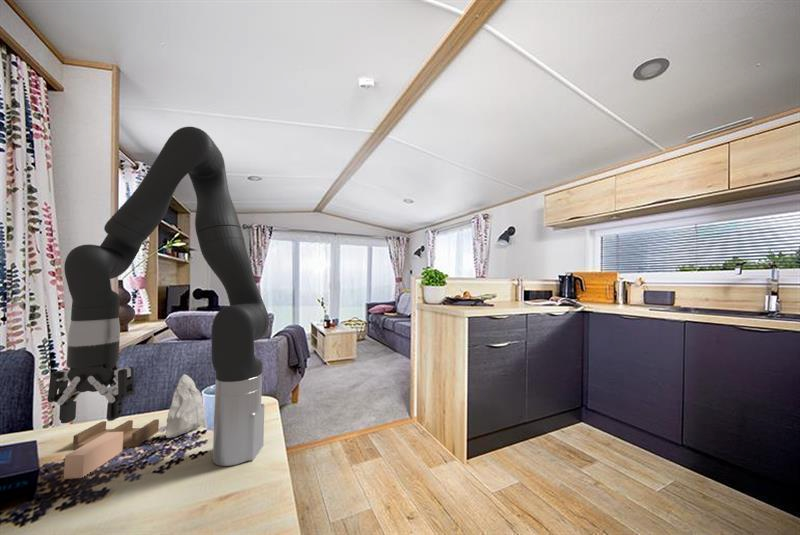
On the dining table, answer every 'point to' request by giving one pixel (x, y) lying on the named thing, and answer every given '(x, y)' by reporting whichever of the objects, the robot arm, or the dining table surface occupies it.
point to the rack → (130, 435)
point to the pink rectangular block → (93, 455)
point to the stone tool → (185, 408)
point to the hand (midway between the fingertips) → (90, 420)
